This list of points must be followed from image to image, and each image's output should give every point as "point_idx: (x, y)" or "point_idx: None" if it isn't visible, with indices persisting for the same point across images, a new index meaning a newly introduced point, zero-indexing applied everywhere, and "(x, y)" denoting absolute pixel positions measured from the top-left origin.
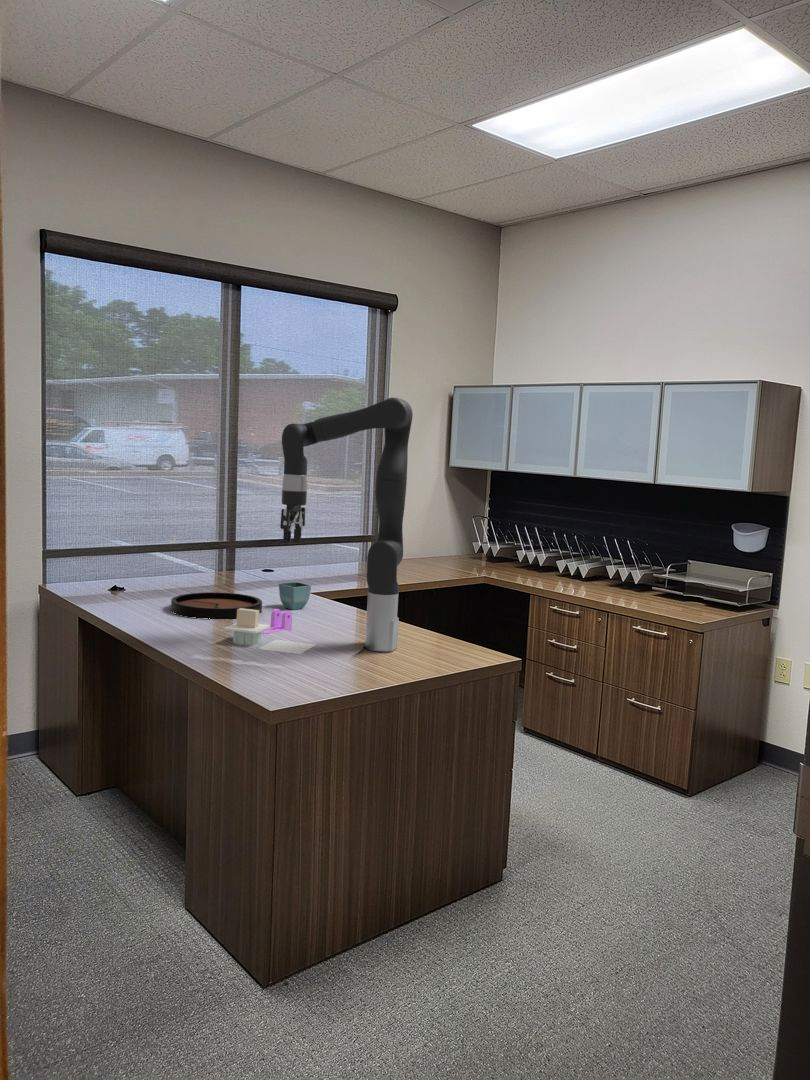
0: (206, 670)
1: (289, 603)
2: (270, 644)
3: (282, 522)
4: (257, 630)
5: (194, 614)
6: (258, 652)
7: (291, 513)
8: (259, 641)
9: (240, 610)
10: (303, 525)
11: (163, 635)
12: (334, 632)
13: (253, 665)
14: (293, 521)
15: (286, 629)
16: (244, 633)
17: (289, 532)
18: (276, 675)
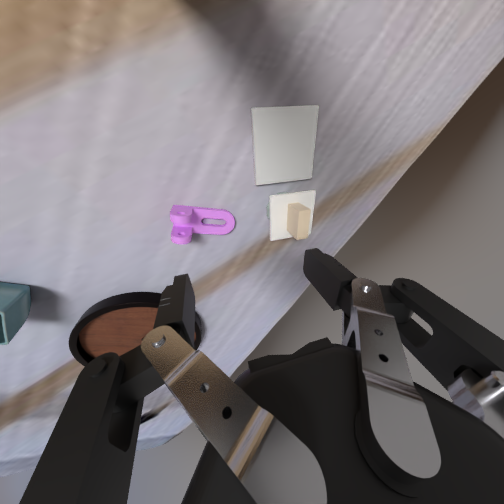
0: (389, 182)
1: (27, 296)
2: (284, 176)
3: (423, 335)
4: (309, 192)
5: (200, 323)
6: None
7: (472, 415)
8: (284, 193)
9: (307, 232)
10: (120, 356)
11: (282, 290)
12: (117, 130)
13: (366, 148)
14: (395, 324)
15: (187, 207)
16: None
17: (347, 278)
18: (404, 93)
